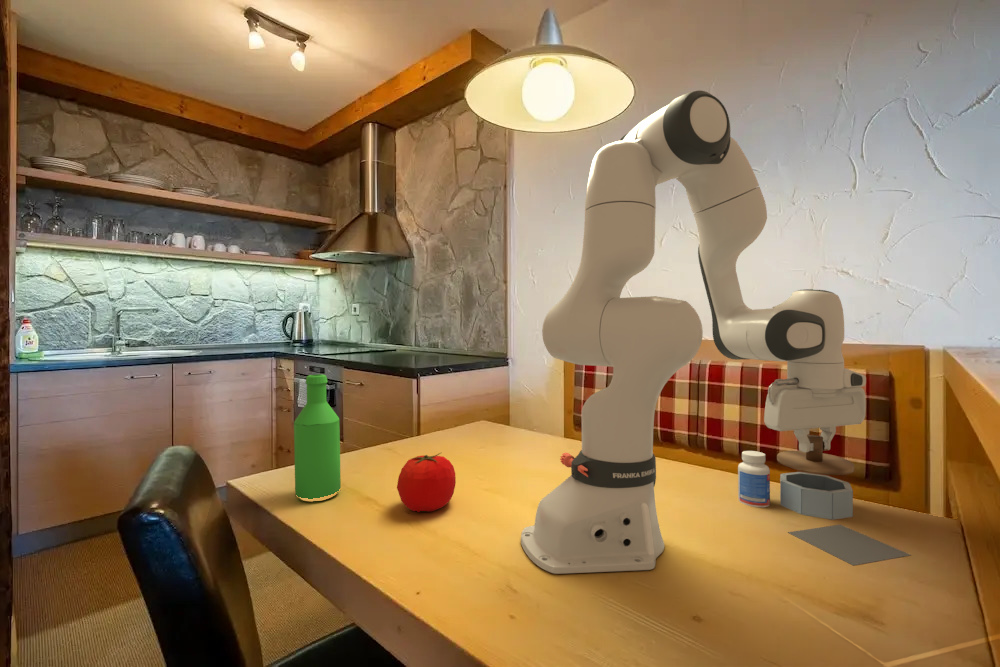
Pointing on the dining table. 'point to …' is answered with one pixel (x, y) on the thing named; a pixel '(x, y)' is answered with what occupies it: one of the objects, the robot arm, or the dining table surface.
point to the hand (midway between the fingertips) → (814, 450)
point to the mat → (848, 544)
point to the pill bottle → (754, 480)
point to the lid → (815, 460)
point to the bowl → (816, 495)
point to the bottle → (317, 444)
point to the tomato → (426, 483)
